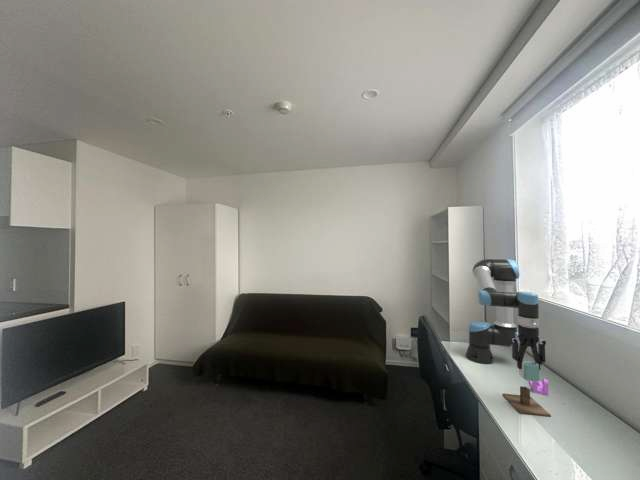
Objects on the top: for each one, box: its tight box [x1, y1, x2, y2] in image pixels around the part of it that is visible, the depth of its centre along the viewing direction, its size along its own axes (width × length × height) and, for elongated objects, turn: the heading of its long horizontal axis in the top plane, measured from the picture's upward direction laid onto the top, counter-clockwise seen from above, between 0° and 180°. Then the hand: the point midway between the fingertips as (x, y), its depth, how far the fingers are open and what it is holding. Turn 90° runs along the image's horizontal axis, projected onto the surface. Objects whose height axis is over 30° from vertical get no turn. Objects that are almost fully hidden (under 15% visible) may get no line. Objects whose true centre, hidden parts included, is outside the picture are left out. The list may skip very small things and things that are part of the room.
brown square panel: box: [502, 386, 552, 418], centre depth 118 cm, size 14×12×8 cm
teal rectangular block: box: [520, 360, 540, 382], centre depth 119 cm, size 5×5×7 cm
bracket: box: [528, 378, 549, 396], centre depth 133 cm, size 13×6×7 cm, turn 151°
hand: (528, 376), depth 119 cm, fingers closed on teal rectangular block, 5 cm apart
